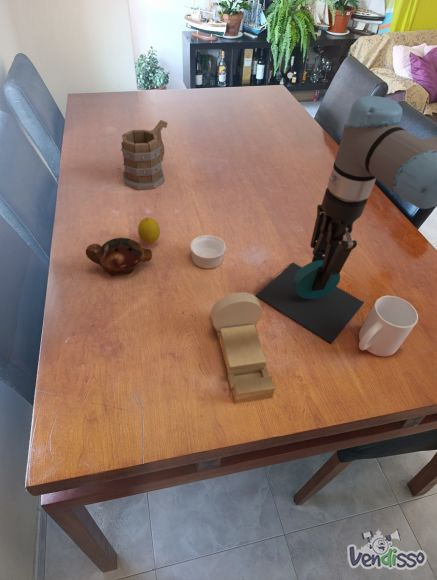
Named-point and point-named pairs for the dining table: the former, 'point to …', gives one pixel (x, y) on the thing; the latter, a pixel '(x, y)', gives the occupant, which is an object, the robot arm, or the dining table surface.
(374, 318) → the mug
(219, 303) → the cream disc
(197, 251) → the ramekin
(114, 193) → the dining table surface
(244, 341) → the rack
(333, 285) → the teal disc
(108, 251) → the brown piece
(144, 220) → the lemon
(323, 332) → the mat
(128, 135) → the tankard
